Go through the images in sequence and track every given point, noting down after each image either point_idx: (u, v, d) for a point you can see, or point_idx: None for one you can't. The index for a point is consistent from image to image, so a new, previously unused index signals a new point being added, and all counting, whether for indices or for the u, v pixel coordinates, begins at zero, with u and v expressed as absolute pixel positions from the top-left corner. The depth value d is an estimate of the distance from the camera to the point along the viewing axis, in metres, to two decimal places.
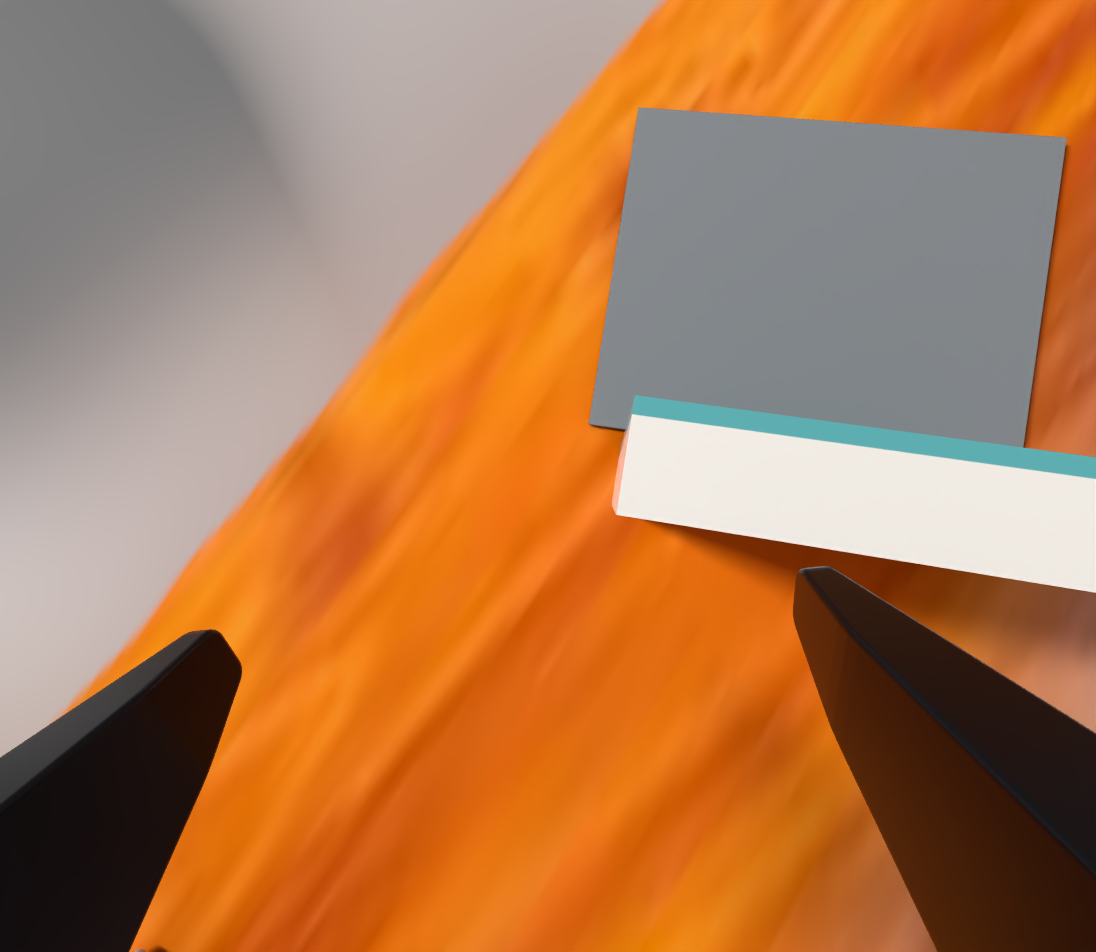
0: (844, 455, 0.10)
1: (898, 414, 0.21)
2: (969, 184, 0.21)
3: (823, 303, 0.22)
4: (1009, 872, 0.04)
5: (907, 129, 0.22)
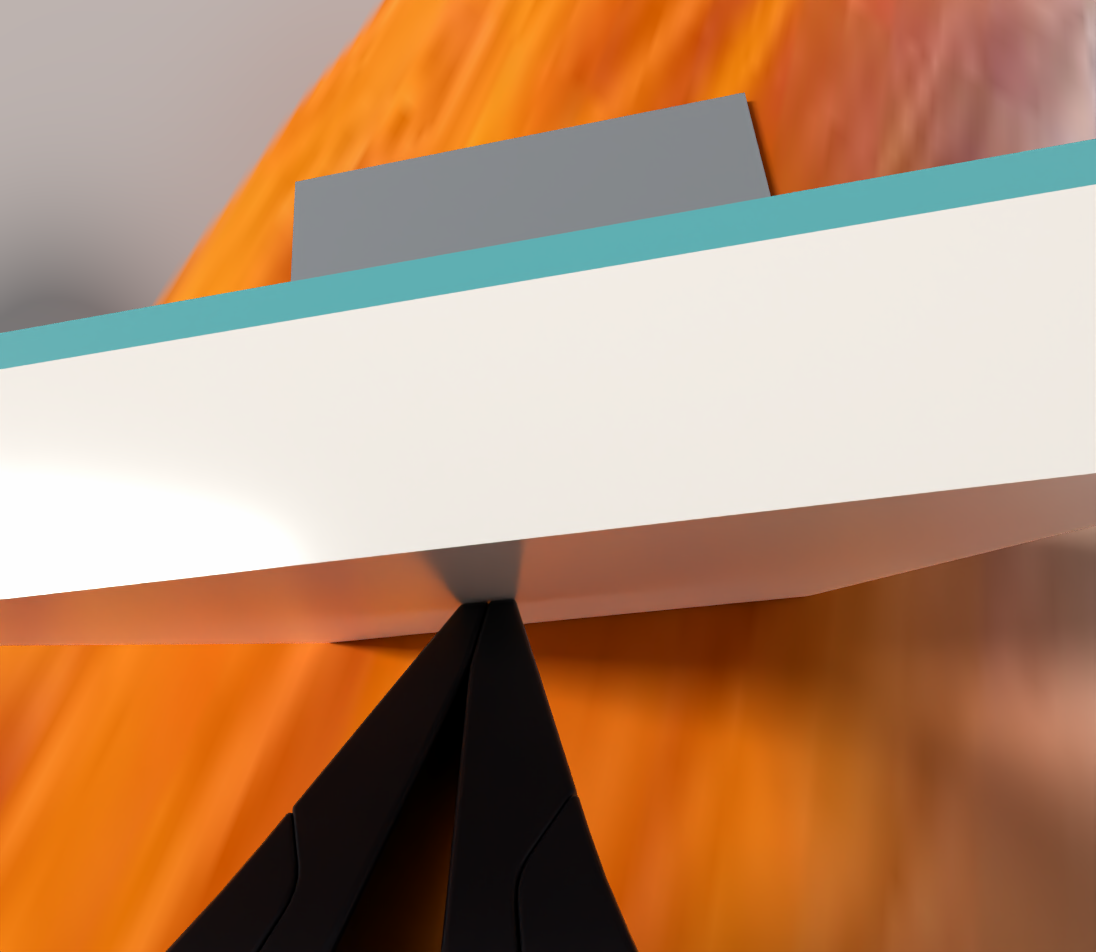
0: (51, 382, 0.05)
1: None
2: (659, 160, 0.18)
3: None
4: None
5: (580, 129, 0.19)
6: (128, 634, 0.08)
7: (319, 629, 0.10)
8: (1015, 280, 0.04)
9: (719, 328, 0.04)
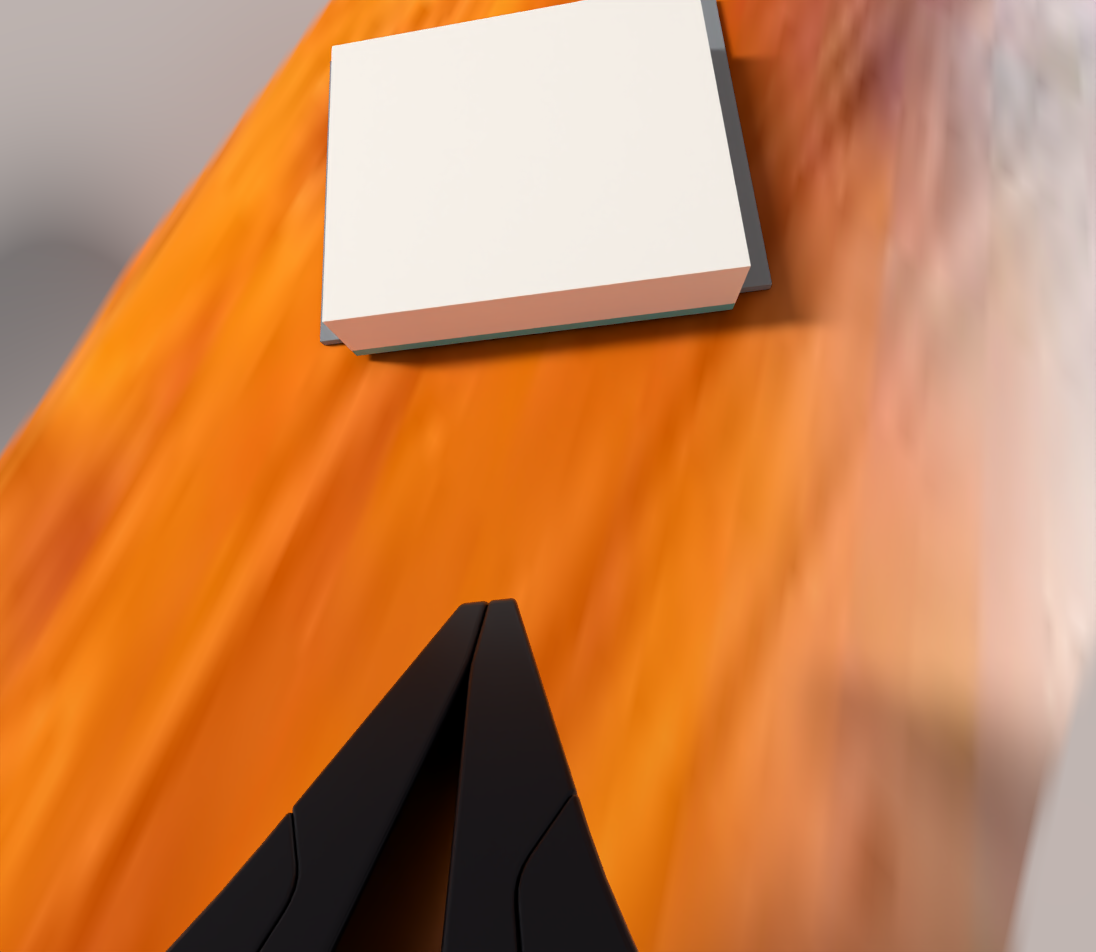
0: None
1: None
2: None
3: None
4: None
5: None
6: (373, 112, 0.19)
7: (409, 169, 0.19)
8: None
9: None
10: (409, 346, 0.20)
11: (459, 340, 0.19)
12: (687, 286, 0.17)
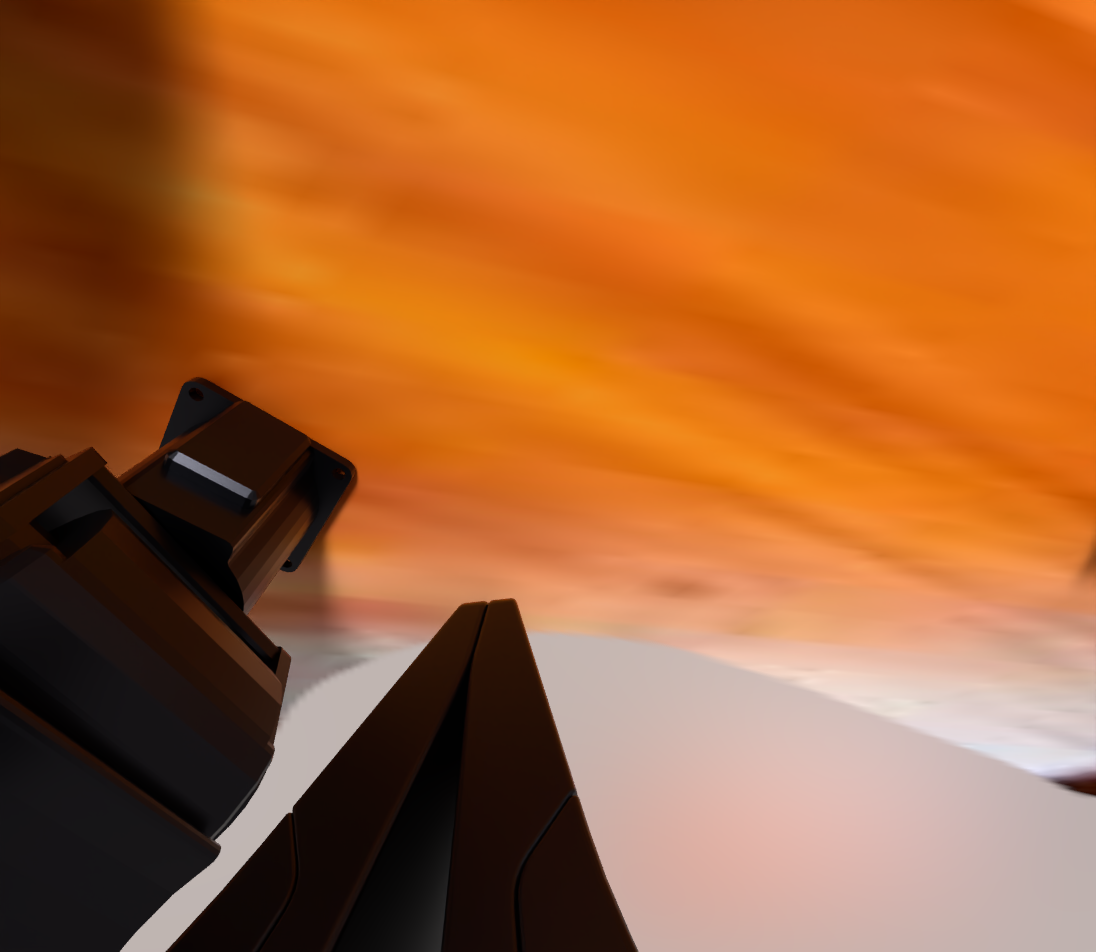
0: None
1: None
2: None
3: None
4: None
5: None
6: None
7: None
8: None
9: None
10: None
11: None
12: None
